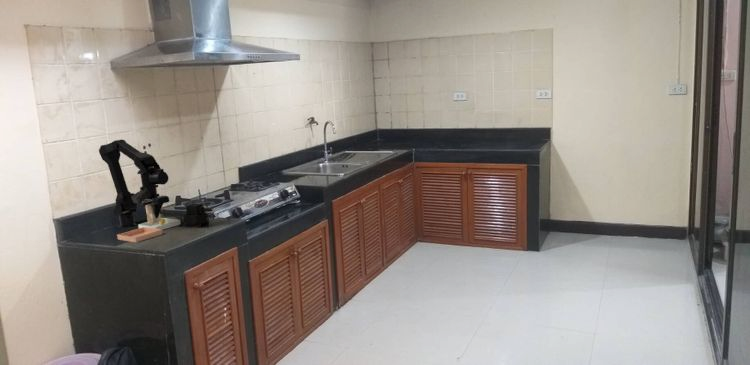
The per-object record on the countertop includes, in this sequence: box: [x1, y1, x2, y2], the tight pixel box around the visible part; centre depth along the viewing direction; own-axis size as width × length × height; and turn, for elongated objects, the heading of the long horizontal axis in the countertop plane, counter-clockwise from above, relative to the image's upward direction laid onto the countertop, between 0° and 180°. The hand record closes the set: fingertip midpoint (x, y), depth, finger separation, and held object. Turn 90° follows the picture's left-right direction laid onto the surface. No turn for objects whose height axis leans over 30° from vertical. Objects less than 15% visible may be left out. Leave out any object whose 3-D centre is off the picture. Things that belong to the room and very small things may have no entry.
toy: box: [182, 203, 213, 229], centre depth 268 cm, size 8×14×10 cm, turn 66°
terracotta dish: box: [116, 227, 163, 243], centre depth 257 cm, size 13×13×2 cm
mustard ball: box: [159, 217, 166, 225], centre depth 277 cm, size 3×3×3 cm
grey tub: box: [137, 217, 181, 231], centre depth 273 cm, size 13×13×2 cm
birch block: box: [145, 203, 162, 223], centre depth 269 cm, size 4×4×8 cm
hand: (153, 217), depth 270 cm, fingers closed on birch block, 4 cm apart
